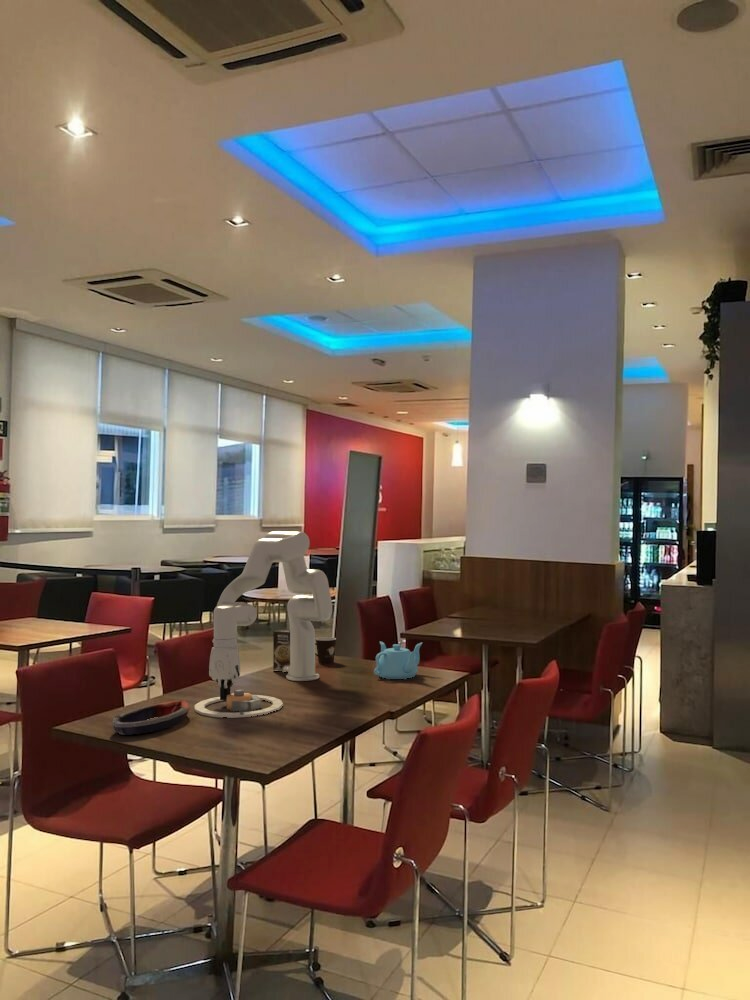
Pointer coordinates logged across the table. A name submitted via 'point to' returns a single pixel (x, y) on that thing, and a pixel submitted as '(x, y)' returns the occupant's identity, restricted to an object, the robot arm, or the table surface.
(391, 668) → the teapot
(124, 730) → the dish
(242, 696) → the orange pumpkin
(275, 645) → the coffee box
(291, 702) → the table surface
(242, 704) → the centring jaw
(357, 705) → the table surface
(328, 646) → the coffee mug
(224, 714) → the turntable ring
